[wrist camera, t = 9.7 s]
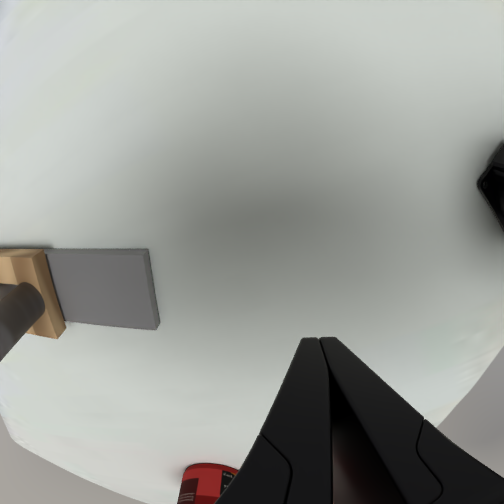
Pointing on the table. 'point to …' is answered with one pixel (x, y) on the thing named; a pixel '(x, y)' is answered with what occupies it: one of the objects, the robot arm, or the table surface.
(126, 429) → the table surface
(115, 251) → the rail
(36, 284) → the wooden base with post
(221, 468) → the canned food
